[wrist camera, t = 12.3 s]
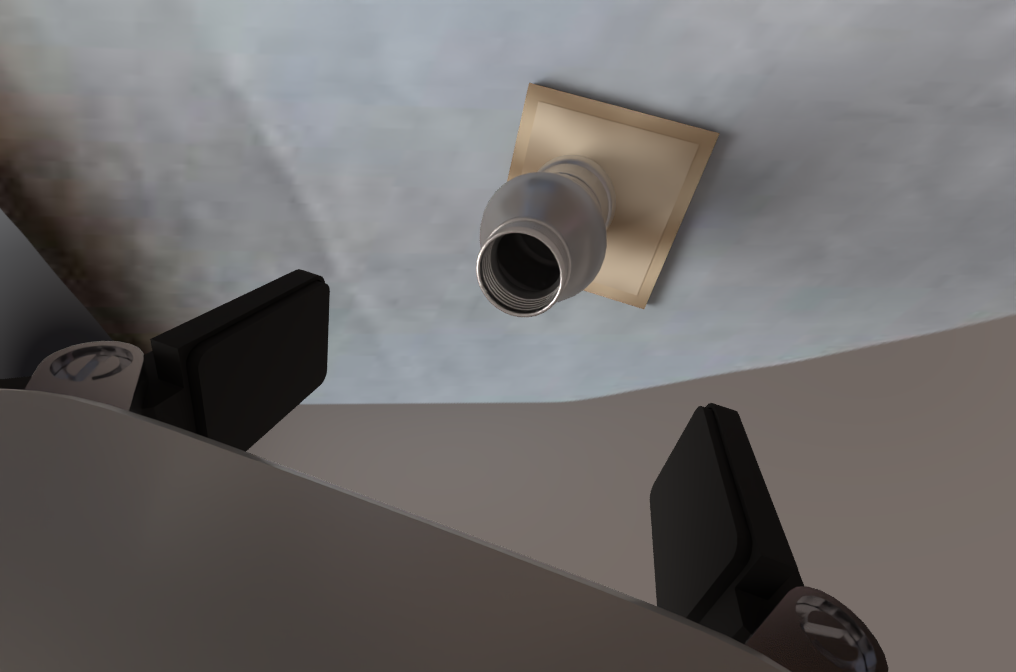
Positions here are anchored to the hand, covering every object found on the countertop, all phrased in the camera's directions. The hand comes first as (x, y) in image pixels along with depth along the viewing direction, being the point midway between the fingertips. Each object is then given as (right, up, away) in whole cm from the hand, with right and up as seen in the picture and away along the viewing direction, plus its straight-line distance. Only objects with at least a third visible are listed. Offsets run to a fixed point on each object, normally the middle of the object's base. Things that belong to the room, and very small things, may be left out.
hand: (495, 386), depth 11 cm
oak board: (+7, +12, +25) cm, 29 cm away
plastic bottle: (+6, +12, +24) cm, 28 cm away
